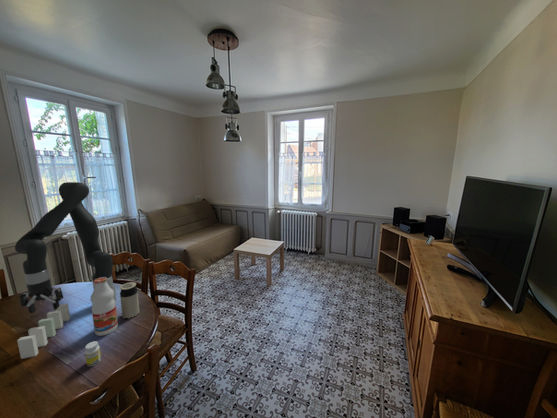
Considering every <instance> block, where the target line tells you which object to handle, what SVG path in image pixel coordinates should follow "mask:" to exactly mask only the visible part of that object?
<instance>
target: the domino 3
mask: <svg viewBox="0 0 557 418" xmlns="http://www.w3.org/2000/svg"><path fill="white" fill-rule="evenodd" d="M37 323H38V327H41V326H45V330H46V336H47V338H52V337H55V335H57V332H56V329H55V325H54V319H53V318H47V317H46V318H42V319H40V320H38V322H37Z"/></svg>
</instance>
